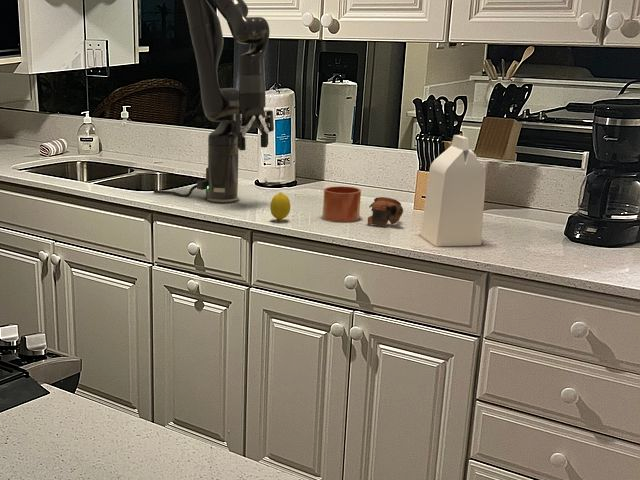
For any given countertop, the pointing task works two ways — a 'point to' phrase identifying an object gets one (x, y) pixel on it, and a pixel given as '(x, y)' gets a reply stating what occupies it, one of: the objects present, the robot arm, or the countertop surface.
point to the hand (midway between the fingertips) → (253, 148)
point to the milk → (454, 197)
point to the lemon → (280, 206)
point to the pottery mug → (385, 211)
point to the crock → (341, 204)
